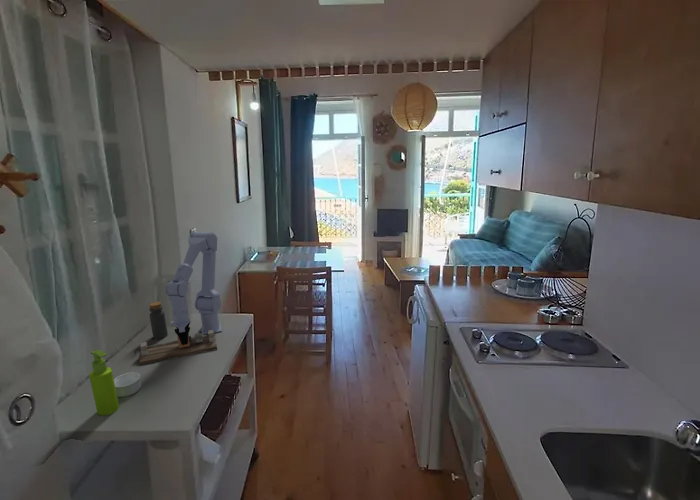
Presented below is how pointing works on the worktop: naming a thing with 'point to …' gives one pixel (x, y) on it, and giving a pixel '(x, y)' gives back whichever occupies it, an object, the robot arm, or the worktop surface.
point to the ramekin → (127, 384)
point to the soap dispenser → (103, 385)
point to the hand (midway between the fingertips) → (184, 341)
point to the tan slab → (177, 348)
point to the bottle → (158, 320)
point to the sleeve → (183, 345)
